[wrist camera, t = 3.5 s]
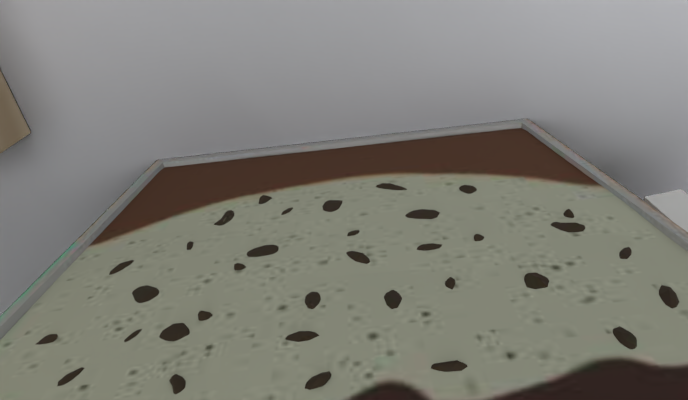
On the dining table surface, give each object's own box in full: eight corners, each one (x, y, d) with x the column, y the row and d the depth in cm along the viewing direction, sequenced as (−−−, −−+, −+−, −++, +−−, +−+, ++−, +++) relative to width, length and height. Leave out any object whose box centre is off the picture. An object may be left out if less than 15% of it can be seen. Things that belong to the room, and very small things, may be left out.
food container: (159, 355, 17) (-34, 828, 8) (99, 166, 15) (-284, 557, 6) (573, 313, 17) (851, 763, 8) (588, 111, 14) (1035, 438, 5)
